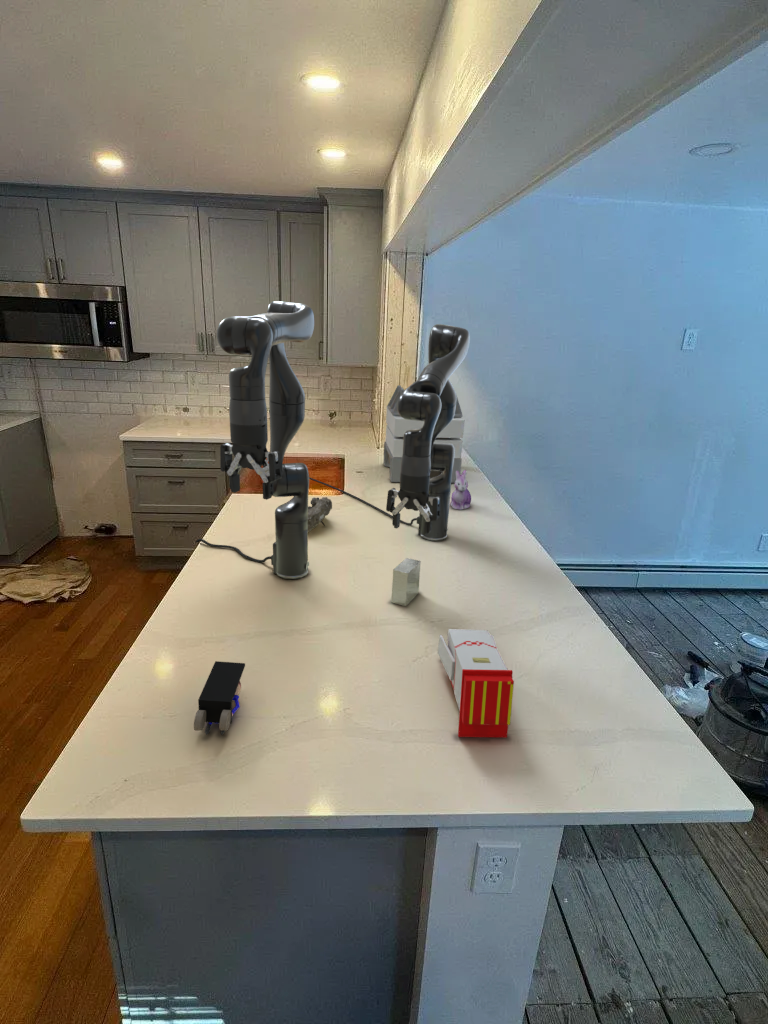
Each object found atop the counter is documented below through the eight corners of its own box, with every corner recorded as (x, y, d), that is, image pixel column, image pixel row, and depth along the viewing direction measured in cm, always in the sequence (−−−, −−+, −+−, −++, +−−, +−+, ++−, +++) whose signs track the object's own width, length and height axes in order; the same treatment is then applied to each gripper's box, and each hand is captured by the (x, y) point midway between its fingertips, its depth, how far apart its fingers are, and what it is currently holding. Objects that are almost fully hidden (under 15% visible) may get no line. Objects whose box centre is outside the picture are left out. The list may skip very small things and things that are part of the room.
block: (391, 602, 153) (393, 569, 150) (404, 589, 161) (406, 557, 157) (405, 606, 151) (407, 573, 148) (418, 593, 159) (420, 561, 156)
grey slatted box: (382, 463, 289) (386, 382, 275) (445, 464, 293) (451, 384, 279) (390, 482, 257) (394, 392, 243) (460, 483, 261) (468, 394, 247)
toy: (488, 613, 130) (523, 677, 101) (484, 667, 133) (517, 744, 104) (435, 612, 130) (455, 676, 101) (432, 666, 133) (451, 743, 103)
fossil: (299, 502, 213) (329, 481, 208) (315, 521, 216) (345, 501, 211) (284, 530, 194) (317, 507, 189) (302, 550, 196) (335, 528, 191)
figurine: (458, 511, 224) (461, 475, 219) (444, 503, 233) (446, 468, 228) (477, 508, 228) (481, 473, 223) (462, 501, 237) (466, 466, 232)
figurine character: (231, 748, 102) (248, 688, 116) (228, 717, 99) (246, 659, 113) (194, 747, 102) (215, 687, 116) (189, 716, 99) (212, 658, 112)
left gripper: (208, 418, 116) (213, 493, 122) (265, 427, 110) (267, 505, 116) (233, 413, 123) (236, 485, 128) (287, 421, 117) (289, 496, 122)
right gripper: (383, 470, 143) (381, 529, 149) (436, 479, 138) (431, 540, 143) (396, 464, 150) (393, 521, 155) (446, 472, 144) (441, 531, 150)
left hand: (251, 495), depth 122 cm, fingers open, 8 cm apart
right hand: (411, 530), depth 149 cm, fingers open, 8 cm apart
